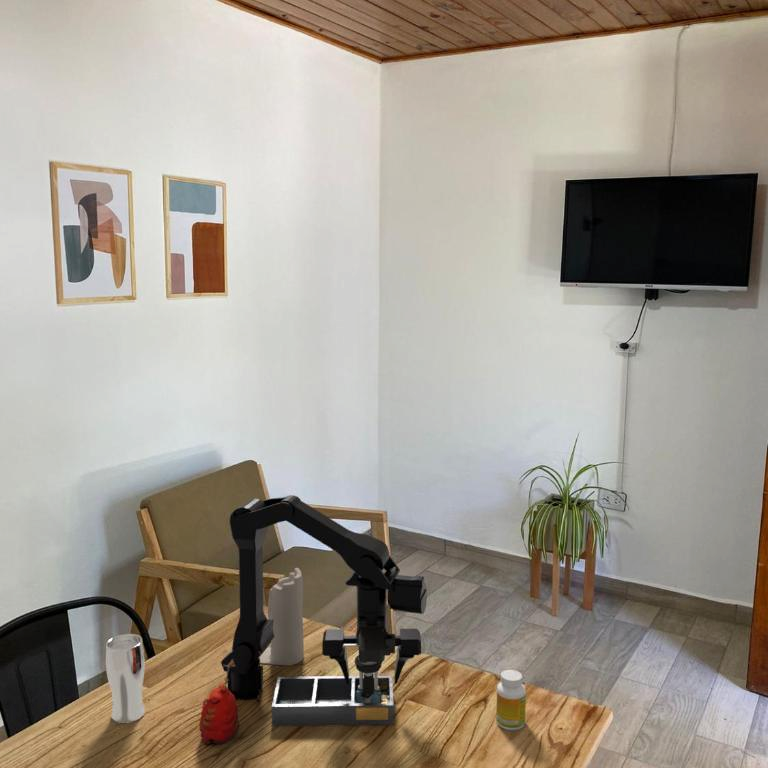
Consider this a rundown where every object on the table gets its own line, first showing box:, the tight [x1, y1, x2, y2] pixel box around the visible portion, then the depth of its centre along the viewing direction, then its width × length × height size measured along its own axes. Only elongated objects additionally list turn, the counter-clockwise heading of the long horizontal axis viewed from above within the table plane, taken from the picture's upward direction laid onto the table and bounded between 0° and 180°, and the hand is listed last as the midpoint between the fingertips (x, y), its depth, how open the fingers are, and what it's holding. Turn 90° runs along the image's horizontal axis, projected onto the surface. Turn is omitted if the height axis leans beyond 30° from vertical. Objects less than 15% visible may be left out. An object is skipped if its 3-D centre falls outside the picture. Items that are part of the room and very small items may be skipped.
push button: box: [354, 654, 389, 703], centre depth 152 cm, size 7×5×10 cm
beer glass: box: [105, 633, 146, 724], centre depth 150 cm, size 7×7×15 cm
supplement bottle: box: [495, 669, 527, 731], centre depth 147 cm, size 5×5×10 cm
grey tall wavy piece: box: [259, 567, 305, 666], centre depth 171 cm, size 7×14×20 cm, turn 82°
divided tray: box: [271, 675, 395, 727], centre depth 152 cm, size 23×11×4 cm, turn 91°
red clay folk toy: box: [198, 659, 240, 745], centre depth 143 cm, size 8×7×15 cm
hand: (371, 683), depth 152 cm, fingers open, 9 cm apart
